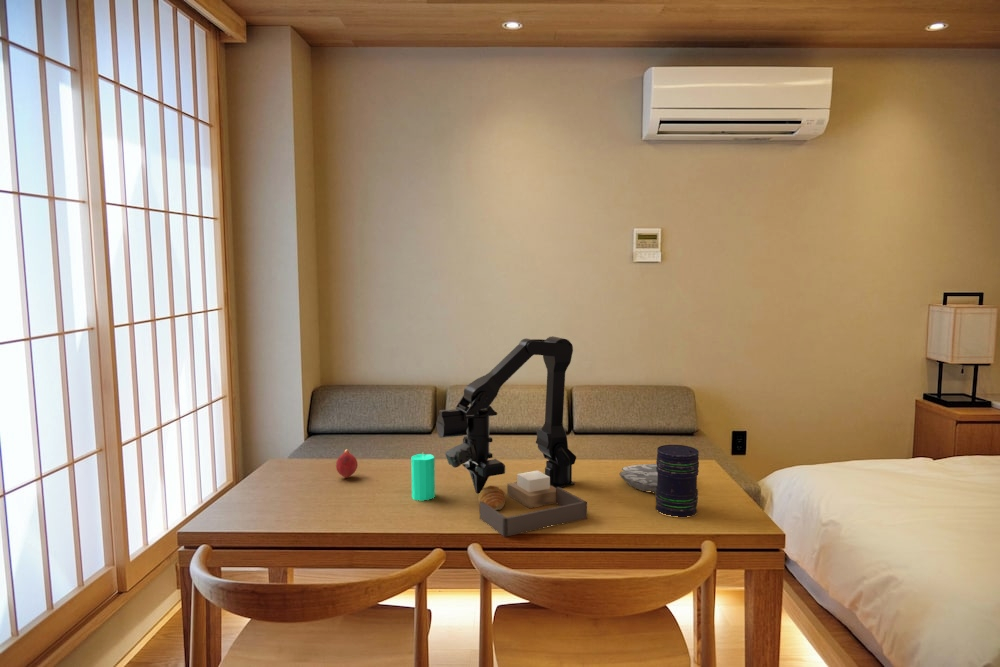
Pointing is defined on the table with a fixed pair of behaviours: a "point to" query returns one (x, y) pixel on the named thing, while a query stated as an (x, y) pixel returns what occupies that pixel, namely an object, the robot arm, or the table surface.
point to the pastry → (492, 497)
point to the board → (531, 495)
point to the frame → (537, 515)
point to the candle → (423, 477)
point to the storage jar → (677, 480)
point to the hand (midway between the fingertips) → (478, 493)
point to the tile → (533, 481)
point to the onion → (346, 464)
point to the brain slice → (641, 476)
